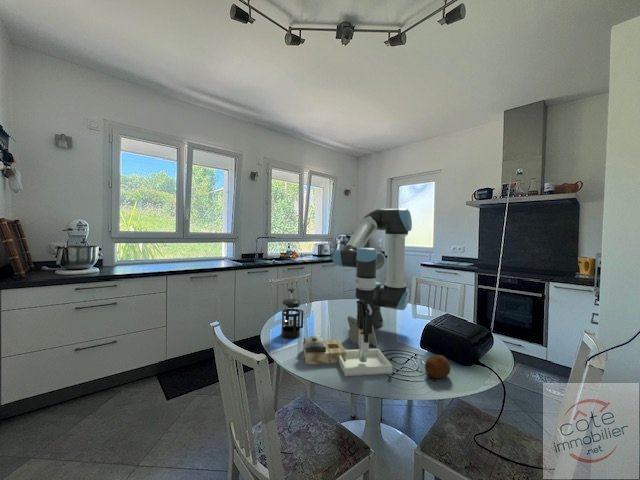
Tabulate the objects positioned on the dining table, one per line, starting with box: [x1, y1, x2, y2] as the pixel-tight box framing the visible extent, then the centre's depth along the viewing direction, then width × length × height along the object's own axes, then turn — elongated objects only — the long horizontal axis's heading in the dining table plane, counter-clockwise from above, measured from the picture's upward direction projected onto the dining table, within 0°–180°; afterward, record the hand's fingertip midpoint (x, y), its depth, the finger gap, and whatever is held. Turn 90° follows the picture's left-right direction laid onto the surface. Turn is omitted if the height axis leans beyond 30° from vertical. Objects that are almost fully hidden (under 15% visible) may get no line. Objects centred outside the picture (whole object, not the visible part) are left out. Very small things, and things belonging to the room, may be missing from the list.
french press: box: [280, 288, 304, 340], centre depth 130 cm, size 12×9×23 cm
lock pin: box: [358, 329, 367, 362], centre depth 103 cm, size 3×3×12 cm
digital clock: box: [347, 315, 378, 347], centre depth 125 cm, size 16×9×11 cm, turn 24°
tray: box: [338, 348, 394, 378], centre depth 103 cm, size 18×14×3 cm
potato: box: [424, 354, 451, 379], centre depth 97 cm, size 8×11×8 cm
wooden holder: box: [302, 335, 346, 365], centre depth 109 cm, size 16×12×8 cm
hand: (363, 347), depth 103 cm, fingers closed on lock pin, 3 cm apart
